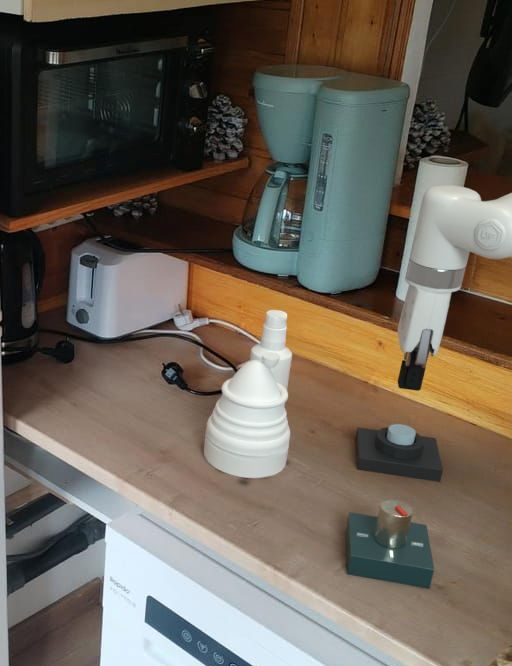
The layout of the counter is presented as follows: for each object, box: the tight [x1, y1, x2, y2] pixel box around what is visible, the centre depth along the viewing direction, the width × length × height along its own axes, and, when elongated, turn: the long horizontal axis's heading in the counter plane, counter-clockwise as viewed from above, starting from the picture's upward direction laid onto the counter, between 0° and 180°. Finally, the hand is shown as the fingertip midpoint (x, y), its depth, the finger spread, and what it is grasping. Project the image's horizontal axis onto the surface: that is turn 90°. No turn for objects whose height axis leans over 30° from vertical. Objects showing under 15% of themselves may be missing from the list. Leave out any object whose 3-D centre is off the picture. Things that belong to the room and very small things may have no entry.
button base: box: [354, 426, 444, 483], centre depth 142 cm, size 12×10×4 cm
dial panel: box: [345, 512, 435, 589], centre depth 119 cm, size 10×10×3 cm
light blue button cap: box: [387, 423, 417, 445], centre depth 141 cm, size 4×4×2 cm
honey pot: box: [203, 352, 292, 479], centre depth 139 cm, size 13×13×18 cm
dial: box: [374, 498, 414, 548], centre depth 118 cm, size 4×4×5 cm
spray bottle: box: [249, 309, 293, 408], centre depth 154 cm, size 7×7×18 cm
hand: (408, 387), depth 138 cm, fingers closed
